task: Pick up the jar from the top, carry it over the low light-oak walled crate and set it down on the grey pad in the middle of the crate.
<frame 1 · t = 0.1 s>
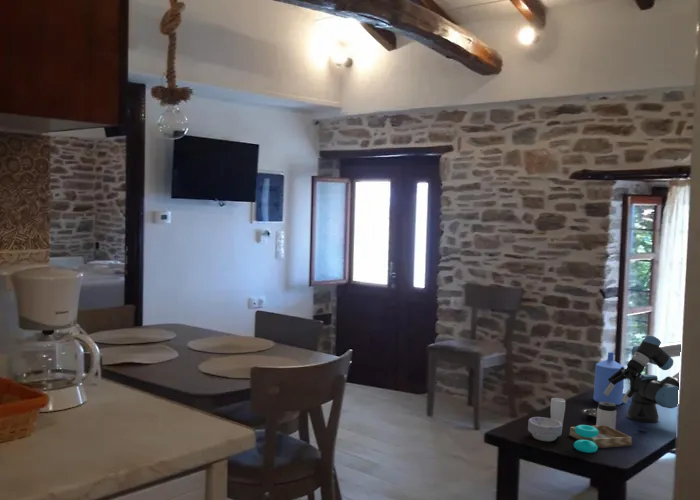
hand: (614, 398, 331), 15 cm above the table, tool tilted 35°, fingers open, 13 cm apart
donuts: (585, 450, 299), on the table
crate: (599, 440, 313), on the table
water jug: (607, 402, 385), on the table
light grey cylinder: (556, 430, 326), on the table
jar: (605, 428, 334), on the table
light grey speckled bowl: (544, 438, 313), on the table
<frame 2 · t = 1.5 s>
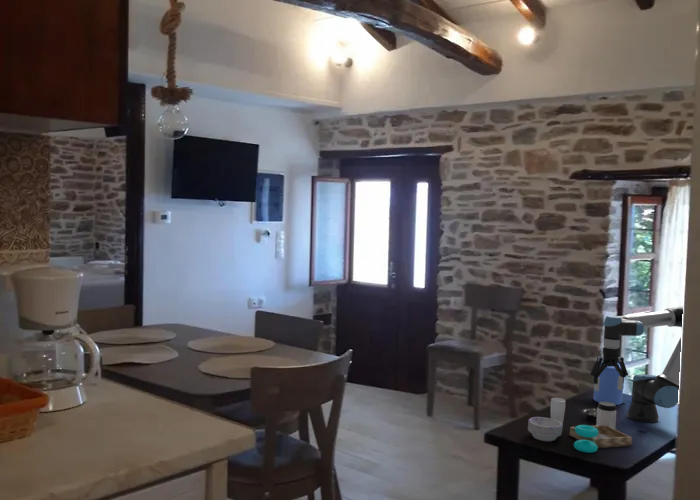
hand: (608, 390, 333), 19 cm above the table, tool pointing down, fingers open, 13 cm apart
nothing on the table moved.
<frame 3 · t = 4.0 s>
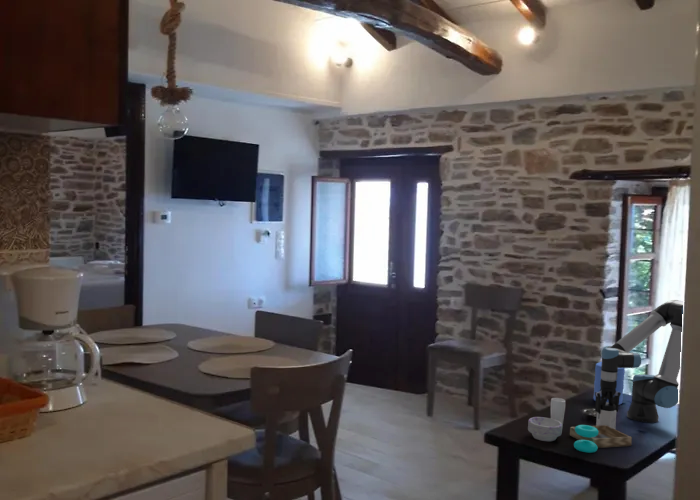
hand: (605, 426, 334), 1 cm above the table, tool pointing down, fingers closed on jar, 4 cm apart
jar: (605, 428, 334), on the table, touching gripper
everything else where it was.
when the fingers open (4 cm above the table, at t = 8.5 s): jar drops 1 cm, resting on crate.
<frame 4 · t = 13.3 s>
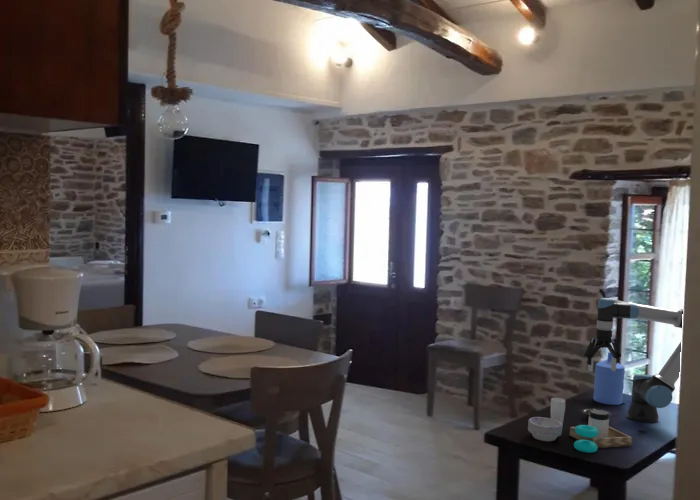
hand: (601, 371, 340), 27 cm above the table, tool pointing down, fingers open, 13 cm apart
jar: (597, 438, 314), point 1 cm above the table, touching crate
everything else where it was.
at the end: jar inside the target area on the crate (1.4 cm from its centre), point 0.8 cm above the crate's base; jar tilted 0°; the gripper is holding nothing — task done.
